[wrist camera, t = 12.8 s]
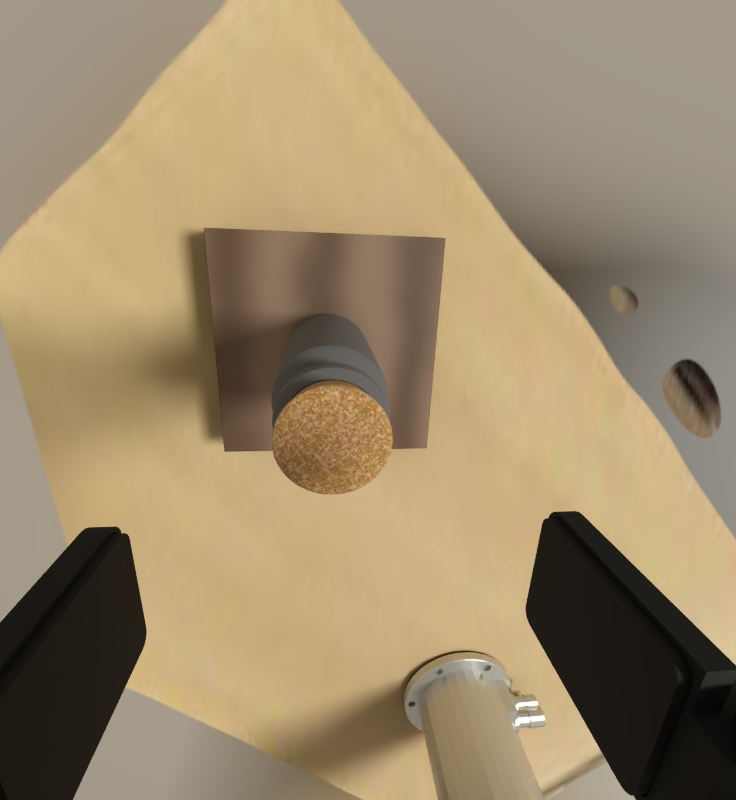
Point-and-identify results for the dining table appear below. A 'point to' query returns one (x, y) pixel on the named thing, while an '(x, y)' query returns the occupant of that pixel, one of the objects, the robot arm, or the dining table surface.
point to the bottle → (330, 408)
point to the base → (314, 295)
